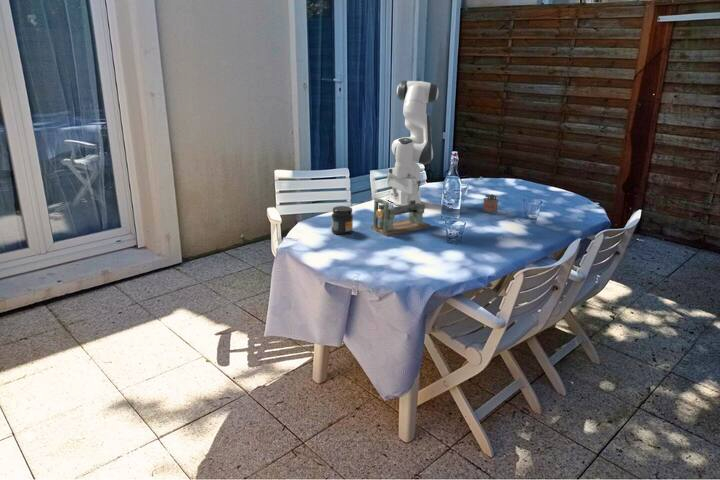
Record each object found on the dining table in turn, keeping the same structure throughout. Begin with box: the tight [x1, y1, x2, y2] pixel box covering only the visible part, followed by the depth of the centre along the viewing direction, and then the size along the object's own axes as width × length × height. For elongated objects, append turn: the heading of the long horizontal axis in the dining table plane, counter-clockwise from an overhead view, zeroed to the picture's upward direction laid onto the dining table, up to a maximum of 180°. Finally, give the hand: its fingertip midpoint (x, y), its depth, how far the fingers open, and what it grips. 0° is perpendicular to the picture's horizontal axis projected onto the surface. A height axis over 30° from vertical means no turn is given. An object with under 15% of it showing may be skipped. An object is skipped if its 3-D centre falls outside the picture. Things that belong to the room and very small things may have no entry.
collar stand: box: [370, 197, 431, 237], centre depth 277 cm, size 13×28×16 cm, turn 125°
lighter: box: [482, 193, 499, 214], centre depth 311 cm, size 8×3×10 cm, turn 84°
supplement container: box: [331, 205, 354, 236], centre depth 270 cm, size 10×10×12 cm
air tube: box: [376, 201, 426, 219], centre depth 277 cm, size 28×4×4 cm, turn 125°
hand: (401, 199), depth 275 cm, fingers open, 8 cm apart
